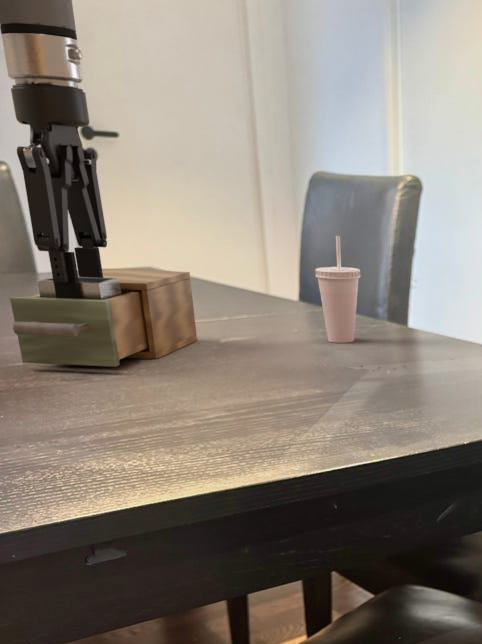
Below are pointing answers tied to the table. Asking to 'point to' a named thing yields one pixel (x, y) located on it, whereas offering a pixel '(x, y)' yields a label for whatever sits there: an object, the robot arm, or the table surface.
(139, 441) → the table surface
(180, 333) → the cabinet
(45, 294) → the grey rectangular box
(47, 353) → the drawer
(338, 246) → the smoothie
